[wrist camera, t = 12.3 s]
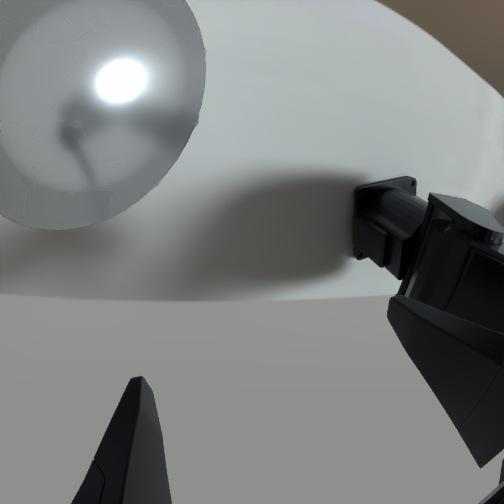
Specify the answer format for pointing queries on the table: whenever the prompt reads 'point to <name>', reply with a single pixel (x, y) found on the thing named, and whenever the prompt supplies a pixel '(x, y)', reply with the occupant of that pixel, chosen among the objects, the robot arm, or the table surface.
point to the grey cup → (93, 104)
